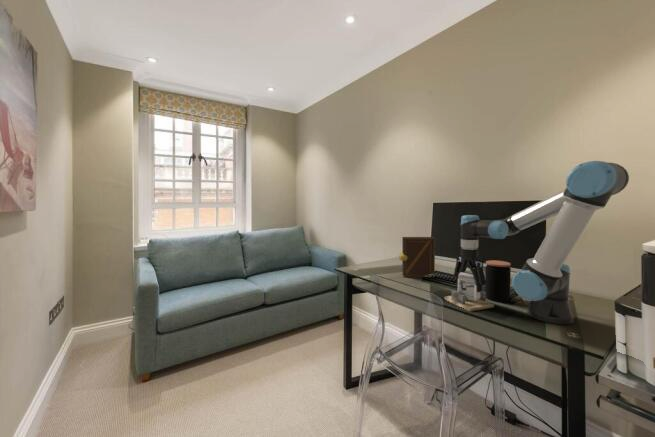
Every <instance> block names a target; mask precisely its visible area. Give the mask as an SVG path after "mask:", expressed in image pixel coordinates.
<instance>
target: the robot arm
mask: <svg viewBox="0 0 655 437" xmlns="http://www.w3.org/2000/svg"><path fill="white" fill-rule="evenodd" d="M629 181H630V175H629V172H628V170H627V169H625V167H623V166H622V165H620V164H618V163H614V162H609V161H608V162H607V161H603V160H590V161H586V162H582V163H579V164H577V165H575V166H574V167H573V168H572V169H570V171H569V172H568V174H567V176H566V178H565V186H566V188H565V189H563V190H561V191H559V192H557V193H555V194H553V195H551V196H549V197H546V198H544V199H543V200H539V202H537V203H534V204H532V205H530V206H529V207H526V208H525V209H523V210H520V211H518V212H515V213H514V214H512V215H509V216H508V217H506V218H503V219H497V220H496V219H495V220H485V219H484V220H481V219H480V217H479V215H478V214H477V215H474V214H473V215H472V214H466V215H462V216H461V217H460V220H461V221H460V247H461V248H460V252H459V254H460V256H459V257H458V256H457V257H456V258H455V260H456V261H455V262H456V263H455V266H454V270H453V271H454V272H453V276H454V277H456V284H457V285H458V280H459V273H461V272H466V271H467V268H468V269H469V270H470V272H471V273H472V274H473V277H474V279H475V282H476V284H475V291H474V299H479V298H480V292H481V291H483V290H482V287H483V285H484V286H485V284H486V281H485V270H484V262H483V261H481V262H480V261H479V260H478V258H479V249H478V248H479V237H480V238H490V239H493V240H494V239H495V240H499V239H500V240H504V239H505V238H506V237H507V236H509V237H510V236H515V235H516V234H518V233H520V232H521V231H522V230H525V229H527V228H530V227H531V226H534V225H537V224H538V223H541V222H544V221H546V220H548V219H550V218H552V217H555V216H556V217H555V218H554V221H553V223H552V224H551V226H550V227H549V229H548V231H547V233H546V234H545V236H544V239H543V240H542V241H541V243H540V246H539V248H538V249H537V251H536V253H535V254H534V257H532V258H528V259H527V260H526V262H525V263H524V265H523V266H522V268H521V270H518V271H517V272H516V273H515V274H514V275H513V277H512V279H511V284H512V287H513V289H514V291H515V292H516V294H517V295H518V296H519V297H521V298H522V299H524V300H527V301H530V302H529V303H528V307H527V311H526V312H527V315H528V316H529V317H532V318H533V319H535V320H538V321H541V322H545V323H549V324H556V325H570V324H573V323H574V318H575V317H574V314H573V312H572V311H573V310H572V308H571V305H570V302H569V295H570V294H569V293H570V277H571V272H570V271H571V270H570V266H569V265H568V264H566V263H565V261H566V259H567V258H568V257H569V255H570V254H571V252H572V250H573V248H574V247H575V245H576V243H577V241H578V240H579V238H580V237H581V235H582V234H583V233H584V230H585V229H586V226H587V225H588V224H589V223H590V220H591V219H592V217H593V215H594V214H595V212H596V211H597V210H601V209H604V208H605V207H606V205H607V204H608V202H609V200H610V199H611V197H612V196H615V195H616V194H619V193H621V192H622V191H623V190H625V188H626V187H627V185H628V184H629ZM564 263H565V264H564ZM478 281H479V282H478Z"/></svg>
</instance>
